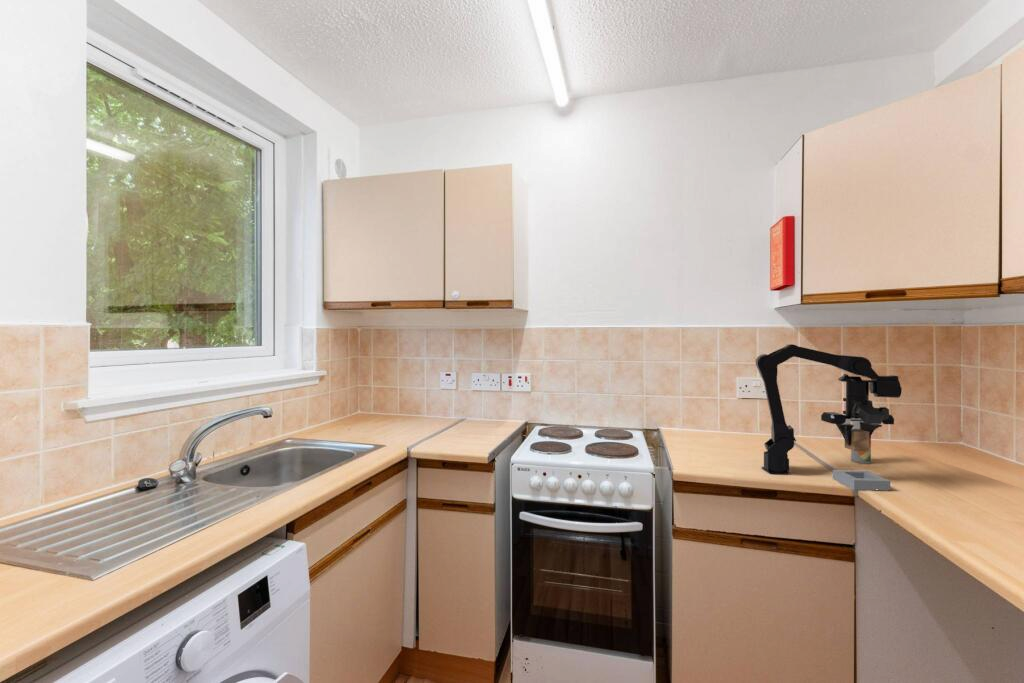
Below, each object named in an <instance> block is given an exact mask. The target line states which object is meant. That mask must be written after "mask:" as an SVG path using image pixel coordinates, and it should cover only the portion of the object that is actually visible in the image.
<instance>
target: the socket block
mask: <svg viewBox="0 0 1024 683" xmlns="http://www.w3.org/2000/svg"><path fill="white" fill-rule="evenodd" d="M833 479H834V480H833ZM832 480H833V481H835V480H836V482H837V481H838V482H837V483H839V484H841V485H843V486H845V487H847V488H849V489H851V490H852V491H863V492H864V491H866V492H867V490H876V489H878V490H890V491H891V480H889V479H886V478H884V477H881V476H880V475H877V474H875V473H873V472H870V471H869V470H865V469H864V470H860V469H857V470H856V469H855V470H854V469H853V470H852V469H832Z"/></svg>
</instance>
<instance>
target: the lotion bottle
mask: <svg viewBox="0 0 1024 683" xmlns="http://www.w3.org/2000/svg"><path fill="white" fill-rule="evenodd" d="M860 422H863V421H850V424H851V425H854V426H853V428H852V429H860ZM850 460H851V462H853V461H854V463H858V464H866V465H867V464H871V462H872V436H871V437H870V439H869V451H853V450H850Z"/></svg>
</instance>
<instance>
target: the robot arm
mask: <svg viewBox="0 0 1024 683" xmlns="http://www.w3.org/2000/svg"><path fill="white" fill-rule="evenodd" d="M793 357H794V358H799V359H804V360H808V361H812V362H816V363H820V364H825V365H829V366H832V367H835V368H837V369H840V370H842V371H845V372H847V373H849V374H853V375H856V376H851V375H849V374H847V373H843V375H842V376H840V377H838V379H837V380H838V381H840V382H843V383H844V382H845V397H843V398H842V401H843V402H845V410H843V411H842V413H838V412H835V411H832V412H831V411H824V412H822V414H821V415H820V421H822V422H824V423H825V422H826V423H828V424H831V425H833V424H834V425H836V427H837V429H838V430H839V432H840V433H841V435H842V437H843V440H844V442H845V441H846V443H847V445H851V429H852V428H853V426H854V425H851V421H863V422H860V429H861V430H864V431H868V432H869V439H870V437H871V438H872V434H873V433H874V432H875V431H876V430H877V429H878V428H881V427H883V425H895V418H894V416H893V415H892V414H890V409H889V408H888V407H886V406H880V407H874V405H873V404H874V403H873V400H870V398H869V397H870V395H869V394H873V396H874V397H875V398H891V399H892V398H893V399H894V398H895V399H898V398H900V397H901V396H902V389H903V388H902V386H901V383H900V379H899V376H898V375H891V374H890V375H878V373H877V372H876V371H875V370H874V369H873V368H872V363H871V361H870V360H869V359H868V358H866V357H864V356H857V355H845V354H833V353H830V352H829V353H828V352H826V351H821V350H816V349H813V348H807V347H803V346H798V345H797V344H792V343H789V344H786V345H785V346H784V347H781V348H779V349H777V350H774V351H772V352H771V353H769V354H767V353H763V354H760V355H758V356H757V357H756V359H755V367H756V369H757V371H758V373H759V376H760V377H761V379H762V382H763V386H764V390H765V395H766V399H767V404H768V410H769V414H770V419H771V428H770V432H771V433H770V434H771V435H770V436H771V438H769V439H768V440H767V441H766V442H764V444H763V445H764V447H765V449H766V450H765V451H763V466H761V469H762V470H764V471H765V472H767V473H769V474H770V475H771V474H772V475H791V472H790V459H789V457H788V456H789V454H788V452H789V451H791V450H792V449H794V447H795V442H797V439H796V438H795V430H794V427H792V426H791V425H787V423H786V419H785V414H784V409H783V403H782V399H781V394H780V391H779V390H780V389H779V386H778V365H781V364H783V363H784V362H786V361H788V360H789V359H790V360H791V359H792V358H793ZM862 377H864V378H867V379H862ZM882 424H883V425H882Z"/></svg>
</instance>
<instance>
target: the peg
mask: <svg viewBox="0 0 1024 683" xmlns="http://www.w3.org/2000/svg"><path fill="white" fill-rule="evenodd" d="M844 448H845V449H848V450H850V451H851V450H853V451H869V432H868V431H864V430H861V429H851V445H847V443H846V441H845V440H844Z"/></svg>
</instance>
